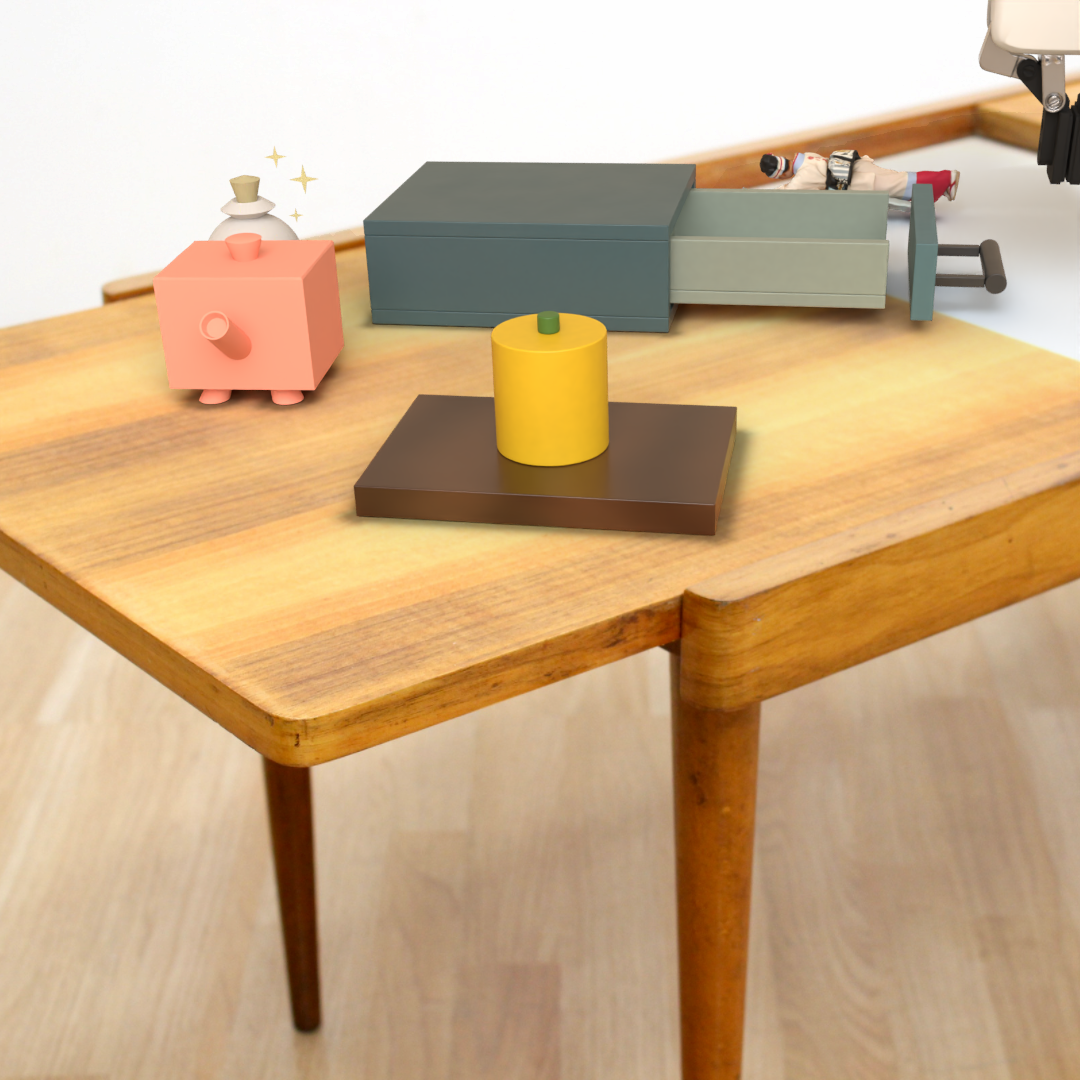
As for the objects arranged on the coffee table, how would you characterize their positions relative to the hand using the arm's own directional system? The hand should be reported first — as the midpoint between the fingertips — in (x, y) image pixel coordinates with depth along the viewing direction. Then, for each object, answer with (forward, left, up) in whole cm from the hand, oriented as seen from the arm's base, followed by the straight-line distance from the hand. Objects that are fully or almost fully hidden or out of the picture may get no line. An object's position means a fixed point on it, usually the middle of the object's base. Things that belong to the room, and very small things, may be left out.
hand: (1062, 177), depth 88 cm
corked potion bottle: (+47, +5, -8) cm, 47 cm away
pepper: (+25, +27, -6) cm, 37 cm away
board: (+25, +27, -7) cm, 37 cm away
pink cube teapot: (+43, +18, -8) cm, 47 cm away
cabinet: (+31, 0, -7) cm, 31 cm away
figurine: (+13, -20, -8) cm, 24 cm away
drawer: (+13, 0, -6) cm, 15 cm away
